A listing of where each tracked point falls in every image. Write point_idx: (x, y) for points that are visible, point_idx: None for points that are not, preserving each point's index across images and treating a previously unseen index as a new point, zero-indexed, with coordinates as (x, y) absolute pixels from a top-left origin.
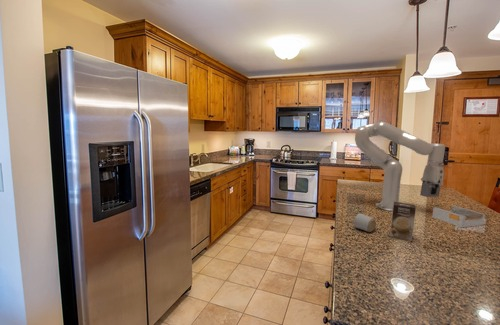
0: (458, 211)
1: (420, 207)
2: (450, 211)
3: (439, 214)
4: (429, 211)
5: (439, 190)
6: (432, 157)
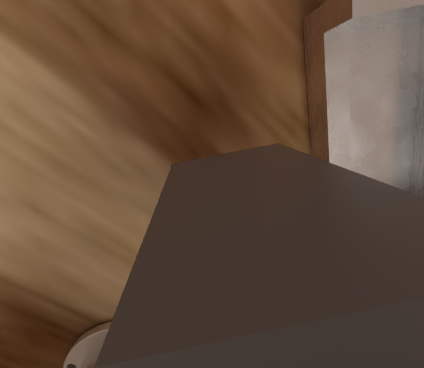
0: (397, 16)
1: (88, 146)
2: (349, 77)
3: None
4: (197, 151)
5: (330, 169)
6: None
